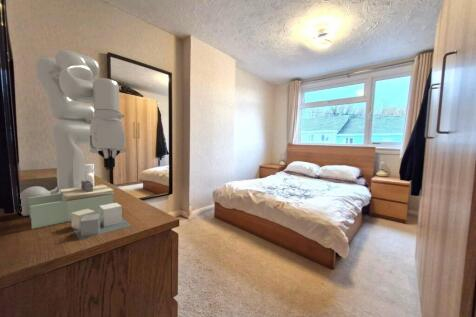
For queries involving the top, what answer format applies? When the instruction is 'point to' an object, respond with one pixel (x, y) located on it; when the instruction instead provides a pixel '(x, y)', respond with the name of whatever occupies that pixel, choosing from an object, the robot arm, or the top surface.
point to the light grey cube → (90, 225)
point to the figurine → (90, 172)
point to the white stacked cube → (110, 214)
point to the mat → (104, 229)
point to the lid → (85, 190)
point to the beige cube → (79, 217)
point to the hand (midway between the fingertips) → (109, 169)
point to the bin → (62, 208)
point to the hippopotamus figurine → (34, 192)
